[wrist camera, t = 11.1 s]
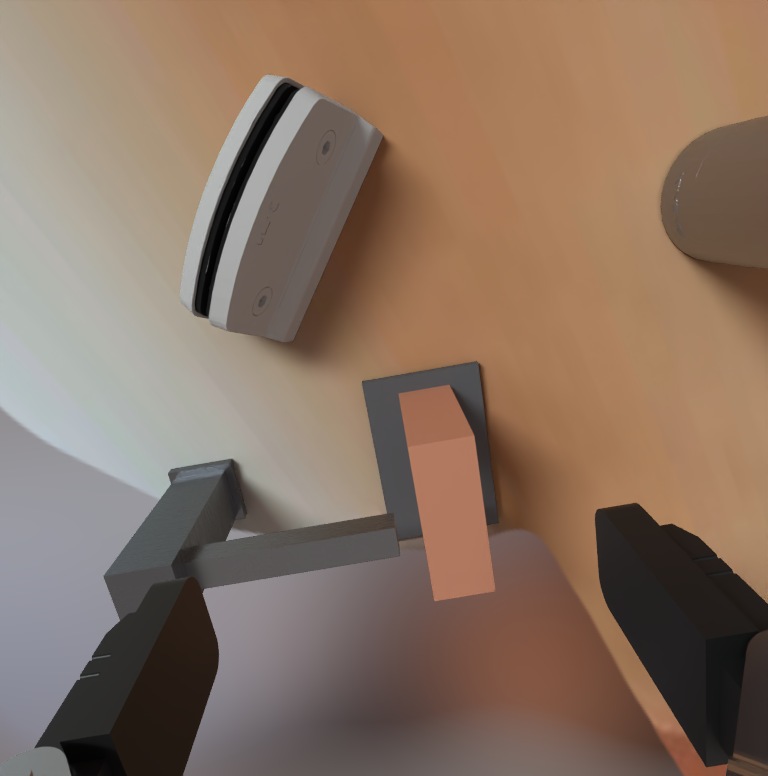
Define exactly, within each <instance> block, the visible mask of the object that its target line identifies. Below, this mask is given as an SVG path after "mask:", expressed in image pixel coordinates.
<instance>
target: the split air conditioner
mask: <svg viewBox="0 0 768 776" xmlns="http://www.w3.org/2000/svg"><path fill="white" fill-rule="evenodd" d="M382 138H383V135H382V133H381V132H380V131H379V130H378V129H377V128H375V127H374V126H373V125H371V124H370V123H369V122H367V121H366V120H364V119H363V118H362V117H360V116H359V115H358V114H356V113H355V112H354V111H352V110H351V109H349V108H347V107H345V106H344V105H342V104H340V103H338V102H336V101H334V100H332V99H330V98H328V97H326V96H325V95H323V94H321V93H319V92H317V91H315V90H313V89H311V88H309V87H305V86H303V85H301V84H299V83H297V82H295V81H294V80H292V79H290V78H287V77H281V76H275V75H266V76H264V77H263V78H262V79H261V80H260V82H259V83H258V85H257V86H256V88H255V89H254V91H253V92H252V94H251V95H250V97H249V98H248V100H247V102H246V104H245V105H244V107H243V109H242V110H241V112H240V114H239V115H238V117H237V119H236V121H235V123H234V125H233V127H232V129H231V131H230V133H229V135H228V137H227V139H226V141H225V143H224V145H223V147H222V149H221V151H220V153H219V155H218V158H217V160H216V162H215V165H214V167H213V170H212V172H211V175H210V177H209V179H208V182H207V184H206V187H205V190H204V193H203V196H202V198H201V201H200V204H199V207H198V210H197V214H196V217H195V221H194V224H193V228H192V231H191V235H190V239H189V243H188V247H187V252H186V257H185V261H184V267H183V274H182V280H181V290H180V301H181V303H182V304H183V305H184V306H185V307H186V308H187V309H188V310H189V311H190V312H192V313H193V314H194V315H195V316H197V317H202V318H207V319H209V321H210V324H211V325H212V326H215V327H218V328H221V329H224V330H227V331H230V332H236V333H242V334H249V335H255V336H261V337H266V338H270V339H273V340H277V341H280V342H291V341H293V340H294V338H295V336H296V333H297V331H298V329H299V327H300V324H301V322H302V320H303V317H304V315H305V313H306V311H307V308H308V306H309V304H310V301H311V299H312V297H313V295H314V292H315V290H316V288H317V286H318V283H319V281H320V279H321V276H322V274H323V272H324V270H325V267H326V265H327V263H328V261H329V258H330V256H331V254H332V251H333V249H334V247H335V245H336V242H337V240H338V238H339V236H340V233H341V231H342V229H343V226H344V224H345V222H346V220H347V217H348V215H349V213H350V211H351V208H352V206H353V204H354V201H355V199H356V197H357V195H358V192H359V190H360V188H361V186H362V183H363V181H364V179H365V176H366V174H367V172H368V170H369V167H370V165H371V163H372V161H373V158H374V156H375V154H376V151H377V149H378V147H379V145H380V142H381V140H382Z"/></svg>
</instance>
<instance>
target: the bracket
mask: <svg viewBox="0 0 768 776" xmlns="http://www.w3.org/2000/svg"><path fill="white" fill-rule="evenodd" d="M168 475H169V478H170V482H171V485H170V487H169V488H168V489H167V491H166V492H165V494H164V495H163V496H162V498H161V499H160V500H159V502H158V503H157V504H156V506H155V507H154V508H153V510H152V511H151V513H150V514H149V515H148V517H147V518H146V519H145V521H144V522H143V523H142V525H141V526H140V527H139V529H138V530H137V531H136V533H135V534H134V536H133V537H132V538H131V540H130V541H129V543H128V544H127V545H126V546H125V548H124V549H123V550H122V552H121V553H120V555H119V556H118V557H117V559H116V560H115V561H114V563H113V564H112V565H111V567H110V568H109V569H108V571H107V572H106V573H105V575H104V579H105V582H106V584H107V587H108V590H109V592H110V595H111V597H112V600H113V603H114V605H115V608H116V610H117V613H118V616H119V618H120V621H121V620H122V619H123V618H124V617H125V616H126V615H127V614H128V613H134V612H136V611H137V609H138V607H139V606H140V604H141V602H142V601H143V599H144V597H145V595H146V594H147V592H148V590H149V589H150V587H151V586H152V585H153V584H154V583H156V582H162V581H168V580H174V579H180V578H185V577H194V578H196V580H197V581H198V583H199V585H200V588H201V591H202V593H203V591H204V589H206V588H212V587H217V586H224V585H229V584H236V583H241V582H248V581H253V580H259V579H266V578H272V577H278V576H283V575H289V574H296V573H301V572H308V571H313V570H320V569H326V568H332V567H337V566H343V565H349V564H356V563H362V562H368V561H373V560H379V559H385V558H391V557H397V556H400V550H399V540H398V534H397V529H396V524H395V519H394V513H389V514H383V515H377V516H371V517H365V518H359V519H353V520H347V521H341V522H335V523H330V524H324V525H318V526H312V527H306V528H300V529H294V530H288V531H282V532H276V533H270V534H264V535H258V536H253V537H247V538H241V539H235V540H229V541H226V539H227V536H228V534H229V532H230V530H231V527H232V525H233V523H234V520H236V519H242V518H245V517H246V514H247V511H246V508H245V504H244V500H243V497H242V493H241V490H240V486H239V482H238V479H237V475H236V472H235V468H234V464H233V461H232V459H228V460H222V461H216V462H210V463H204V464H199V465H193V466H187V467H181V468H175V469H171V470H170V472H169V473H168Z"/></svg>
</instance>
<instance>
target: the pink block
mask: <svg viewBox="0 0 768 776" xmlns="http://www.w3.org/2000/svg"><path fill="white" fill-rule="evenodd" d="M399 400H400V406H401V412H402V418H403V423H404V429H405V435H406V441H407V446H408V452H409V458H410V464H411V469H412V475H413V481H414V487H415V492H416V498H417V504H418V509H419V515H420V521H421V527H422V532H423V538H424V544H425V549H426V555H427V561H428V566H429V572H430V578H431V583H432V589H433V595H434V601H438V600H443V599H450V598H457V597H463V596H469V595H474V594H481V593H487V592H493V591H495V584H494V577H493V569H492V562H491V554H490V547H489V540H488V532H487V525H486V517H485V510H484V503H483V495H482V488H481V481H480V473H479V466H478V458H477V451H476V444H475V436H474V434H473V432H472V430H471V428H470V426H469V424H468V421H467V419H466V417H465V415H464V413H463V411H462V409H461V407H460V405H459V403H458V401H457V399H456V397H455V395H454V393H453V391H452V389H451V387H450V385H445V386H439V387H433V388H428V389H422V390H416V391H410V392H405V393H399Z"/></svg>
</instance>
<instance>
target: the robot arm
mask: <svg viewBox="0 0 768 776" xmlns="http://www.w3.org/2000/svg"><path fill="white" fill-rule="evenodd" d="M661 213H662V221H663V224H664V226H665V229H666V232H667V234H668V236H669V237H670V239H671V240H672V242H673V243H674V244H675V245H676V246H677V247H678V248H679V249H680V250H681V251H682V252H684V253H686V254H687V255H689V256H691V257H693V258H696V259H700V260H704V261H709V262H717V263H725V264H732V265H738V266H746V267H754V268H762V269H768V116H764V117H759V118H755V119H751V120H747V121H744V122H740V123H736V124H732V125H728V126H724V127H720V128H717V129H715V130H712V131H710V132H707V133H705V134H704V135H702V136H700V137H699V138H697V139H696V140H694V141H693V142H692V143H691V144H690V145H689V146H688V147H687V148H685V149H684V150H683V151H682V152H681V154H680V155H679V156H678V158H677V159H676V161H675V162H674V163H673V165H672V167H671V169H670V171H669V173H668V175H667V177H666V180H665V183H664V187H663V191H662V197H661ZM595 526H596V540H597V554H598V568H599V579H600V585H601V589H602V592H603V596H604V599H605V601H606V604H607V606H608V608H609V610H610V612H611V613H612V615H613V616H614V618H615V620H616V621H617V623H618V625H619V626H620V628H621V629H622V631H623V633H624V634H625V636H626V638H627V639H628V641H629V642H630V644H631V646H632V647H633V649H634V651H635V652H636V654H637V655H638V657H639V659H640V660H641V662H642V664H643V665H644V667H645V668H646V670H647V672H648V673H649V675H650V677H651V678H652V680H653V681H654V683H655V685H656V686H657V688H658V690H659V691H660V693H661V694H662V696H663V698H664V699H665V701H666V703H667V704H668V706H669V707H670V709H671V711H672V712H673V714H674V716H675V717H676V719H677V720H678V722H679V724H680V725H681V727H682V729H683V730H684V732H685V733H686V735H687V737H688V738H689V740H690V742H691V743H692V745H693V746H694V748H695V750H696V751H697V753H698V755H699V756H700V758H701V759H702V761H703V763H704V764H705V766H706V767H711V766H717V765H723V764H727V770H726V776H768V604H767V603H766V602H765V601H764V600H763V599H762V598H761V597H760V596H759V595H758V594H757V593H756V592H755V591H754V590H753V589H752V588H751V587H750V586H749V585H748V584H747V583H746V582H745V581H744V580H742V579H741V578H740V577H739V576H738V575H737V574H734V573H733V571H732V569H731V568H730V567H729V566H728V565H727V564H726V563H725V562H724V561H723V560H722V559H721V558H719V559H718V557H717V554H716V553H715V552H713V551H712V550H711V549H710V548H709V547H708V546H707V545H706V544H705V543H704V542H703V541H702V540H701V539H700V538H699V537H698V536H695V535H693V534H691V533H689V532H687V531H685V530H683V529H681V528H679V527H677V526H675V525H673V524H668V525H662V526H659V525H658V523H657V522H656V521H655V520H654V519H653V518H652V517H651V516H650V515H649V514H648V513H647V512H646V511H645V510H644V509H643V508H642V507H641V506H640V505H639V504H637V503H632V504H626V505H620V506H614V507H608V508H602V509H598V510H597V511H596V514H595ZM218 662H219V649H218V642H217V638H216V635H215V631H214V628H213V625H212V622H211V619H210V616H209V613H208V610H207V606H206V603H205V600H204V597H203V594H202V591H201V588H200V585H199V583H198V581H197V580H196V578H194V577H185V578H180V579H174V580H168V581H162V582H156V583H154V584H153V585H152V586H151V587H150V589H149V590H148V592H147V594H146V595H145V597H144V599H143V601H142V602H141V604H140V606H139V607H138V609H137V611H136V612H134V613H128V614H127V615H126V616H125V617H124V618H123V619H122V620H121V621H120V622H119V623H118V624H116V625H115V626H114V627H113V628H112V629H111V630H110V631H109V632H108V633H107V634H106V635H105V637H104V638H103V640H102V641H101V643H100V644H99V646H98V648H97V649H96V651H95V652H94V654H93V656H92V661H89V662H88V664H87V665H86V667H85V668H84V670H83V671H82V673H81V675H80V680H77V681H76V683H75V684H74V686H73V688H72V689H71V691H70V692H69V694H68V695H67V697H66V698H65V700H64V702H63V703H62V705H61V706H60V708H59V710H58V711H57V713H56V714H55V716H54V718H53V719H52V721H51V722H50V724H49V725H48V727H47V729H46V730H45V732H44V733H43V735H42V737H41V738H40V740H39V741H38V743H37V745H36V746H35V748H34V749H31V750H28V751H25V752H23V753H20V754H18V755H16V756H14V757H12V758H10V759H8V760H7V761H5V762H4V763H2V764H1V765H0V776H183V773H184V770H185V767H186V764H187V761H188V758H189V755H190V752H191V749H192V746H193V743H194V740H195V737H196V734H197V731H198V728H199V725H200V722H201V719H202V716H203V713H204V710H205V707H206V704H207V701H208V698H209V695H210V692H211V689H212V686H213V683H214V680H215V676H216V674H217V669H218Z"/></svg>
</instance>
